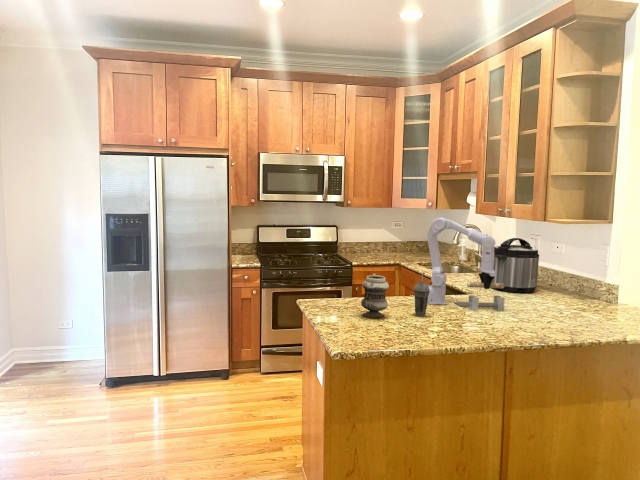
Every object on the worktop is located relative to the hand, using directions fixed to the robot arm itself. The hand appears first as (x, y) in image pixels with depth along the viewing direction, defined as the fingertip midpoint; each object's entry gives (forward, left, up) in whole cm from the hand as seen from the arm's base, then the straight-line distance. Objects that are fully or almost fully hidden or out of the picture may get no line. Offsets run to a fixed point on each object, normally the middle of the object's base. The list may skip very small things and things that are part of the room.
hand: (485, 288), depth 231 cm
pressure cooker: (+40, +51, -11) cm, 66 cm away
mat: (0, +7, -10) cm, 13 cm away
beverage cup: (-37, -15, -11) cm, 41 cm away
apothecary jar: (-59, -17, -11) cm, 62 cm away
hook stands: (0, -2, -10) cm, 10 cm away
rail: (0, 0, +1) cm, 2 cm away
